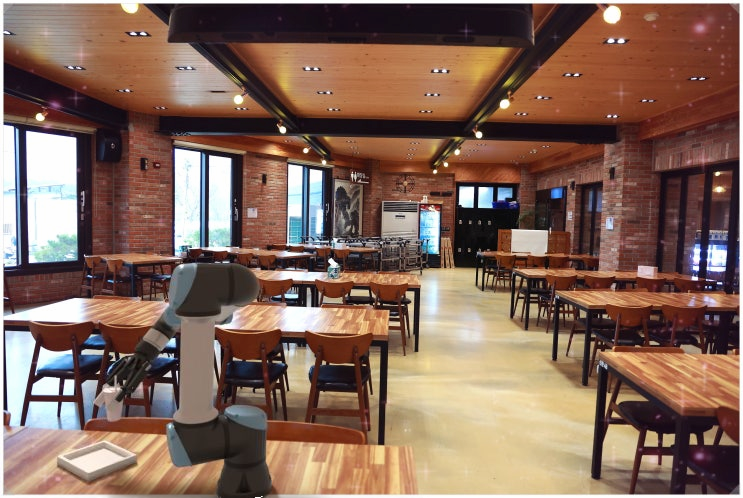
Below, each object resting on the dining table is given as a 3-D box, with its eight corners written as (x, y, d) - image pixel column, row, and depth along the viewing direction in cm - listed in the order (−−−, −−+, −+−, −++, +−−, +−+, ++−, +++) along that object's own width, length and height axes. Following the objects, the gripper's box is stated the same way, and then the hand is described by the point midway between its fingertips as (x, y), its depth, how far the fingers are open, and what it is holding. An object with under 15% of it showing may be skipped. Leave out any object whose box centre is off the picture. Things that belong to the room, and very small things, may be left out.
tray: (136, 462, 160) (136, 454, 160) (88, 481, 148) (88, 473, 147) (105, 447, 170) (105, 440, 170) (57, 463, 157) (57, 456, 157)
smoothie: (115, 424, 158) (115, 379, 157) (97, 421, 159) (97, 377, 158) (129, 416, 164) (130, 373, 163) (112, 414, 165) (112, 371, 165)
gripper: (175, 357, 167) (127, 421, 155) (142, 347, 179) (95, 406, 166) (160, 343, 163) (110, 408, 150) (128, 334, 174) (78, 394, 162)
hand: (102, 407), depth 158 cm, fingers closed on smoothie, 6 cm apart
